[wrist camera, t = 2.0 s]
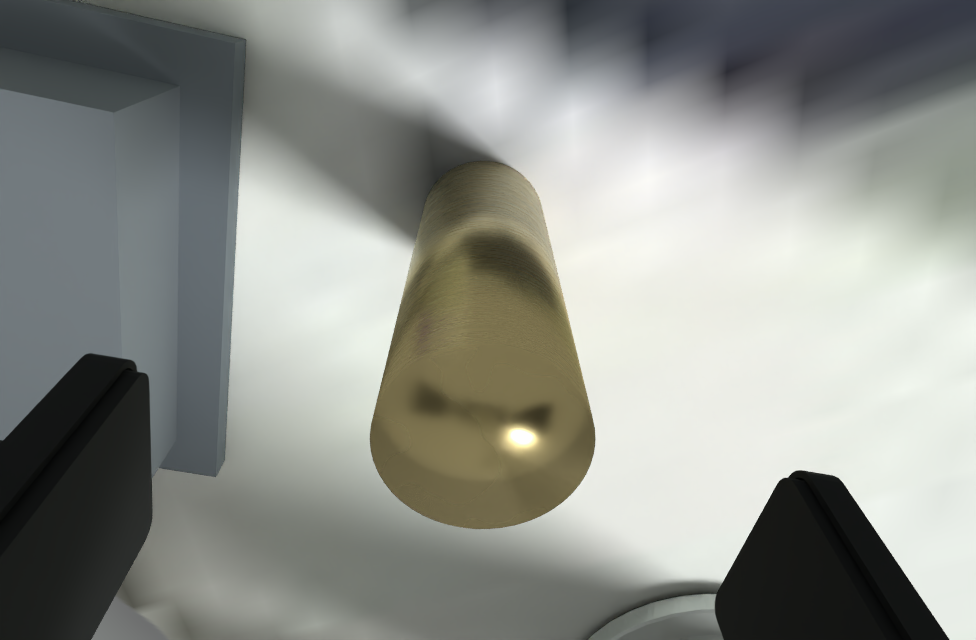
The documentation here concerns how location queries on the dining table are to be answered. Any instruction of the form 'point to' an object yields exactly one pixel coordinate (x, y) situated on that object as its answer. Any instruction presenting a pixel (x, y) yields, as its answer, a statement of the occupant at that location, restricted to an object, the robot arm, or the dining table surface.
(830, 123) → the dining table surface
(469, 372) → the pipe stub
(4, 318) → the socket fitting
